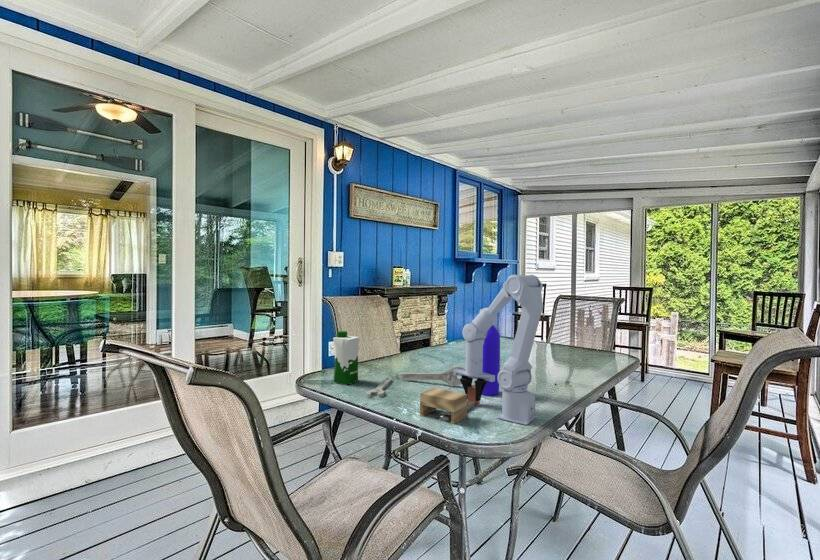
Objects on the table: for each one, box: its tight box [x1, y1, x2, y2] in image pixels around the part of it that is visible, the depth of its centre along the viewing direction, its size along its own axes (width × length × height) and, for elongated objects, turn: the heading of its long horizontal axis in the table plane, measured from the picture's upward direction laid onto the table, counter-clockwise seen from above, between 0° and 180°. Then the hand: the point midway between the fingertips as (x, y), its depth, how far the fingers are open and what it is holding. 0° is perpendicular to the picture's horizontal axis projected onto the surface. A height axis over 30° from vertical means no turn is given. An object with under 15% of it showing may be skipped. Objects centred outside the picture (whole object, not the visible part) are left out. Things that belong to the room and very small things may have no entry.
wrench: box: [395, 365, 465, 388], centre depth 168 cm, size 8×2×30 cm
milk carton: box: [332, 330, 361, 385], centre depth 169 cm, size 9×9×20 cm
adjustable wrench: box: [365, 377, 392, 399], centre depth 160 cm, size 25×6×2 cm, turn 165°
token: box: [438, 411, 451, 423], centre depth 128 cm, size 4×4×2 cm
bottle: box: [476, 324, 501, 397], centre depth 156 cm, size 8×8×30 cm
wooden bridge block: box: [419, 387, 468, 425], centre depth 130 cm, size 12×8×7 cm, turn 55°
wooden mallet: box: [446, 384, 481, 413], centre depth 136 cm, size 3×17×6 cm, turn 144°
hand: (473, 399), depth 142 cm, fingers closed on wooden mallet, 3 cm apart
